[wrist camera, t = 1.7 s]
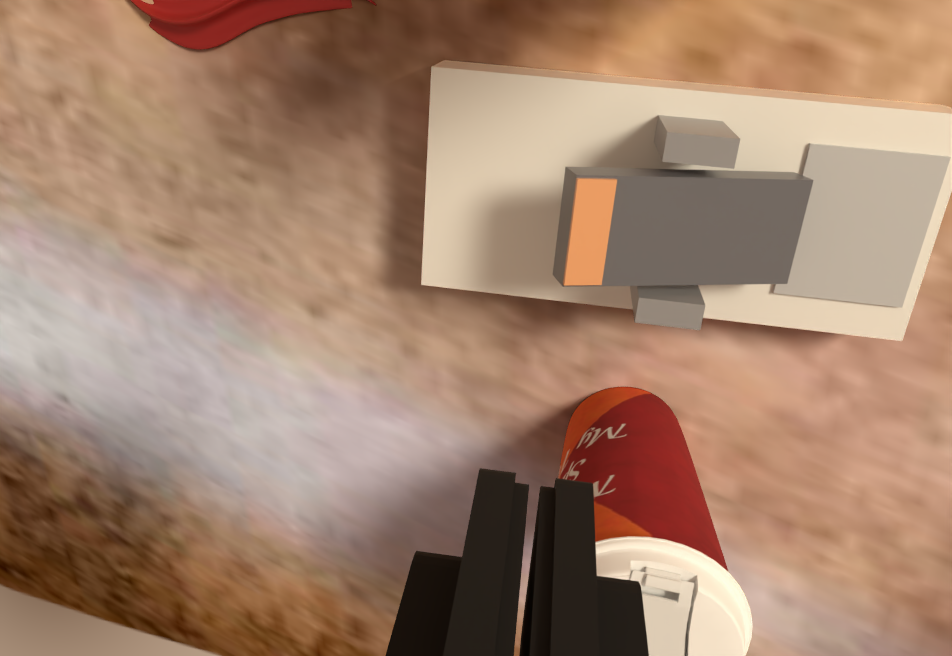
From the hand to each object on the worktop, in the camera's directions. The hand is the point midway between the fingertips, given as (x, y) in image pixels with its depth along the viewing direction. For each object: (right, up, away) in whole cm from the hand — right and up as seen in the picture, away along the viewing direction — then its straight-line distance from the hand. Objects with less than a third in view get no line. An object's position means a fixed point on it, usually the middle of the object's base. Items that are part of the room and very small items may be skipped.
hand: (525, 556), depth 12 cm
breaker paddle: (+7, +7, +17) cm, 19 cm away
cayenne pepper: (-10, +17, +22) cm, 30 cm away
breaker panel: (+7, +9, +22) cm, 25 cm away
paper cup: (+7, -2, +27) cm, 28 cm away
